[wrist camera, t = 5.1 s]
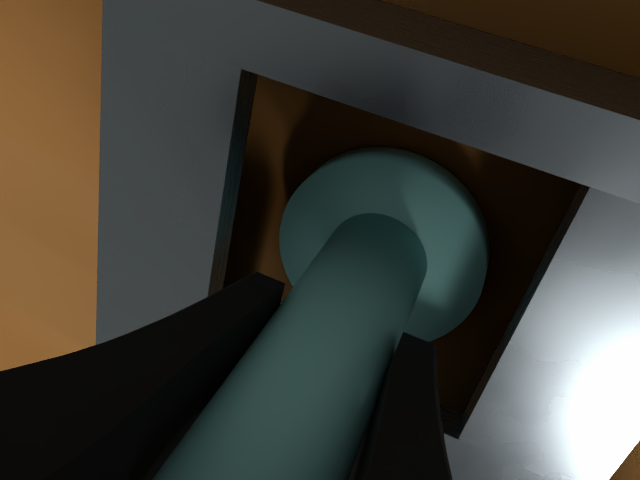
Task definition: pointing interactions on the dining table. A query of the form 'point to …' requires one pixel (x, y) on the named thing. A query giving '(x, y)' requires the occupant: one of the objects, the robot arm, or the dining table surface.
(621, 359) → the keyhole plate
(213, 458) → the peg
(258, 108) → the dining table surface
